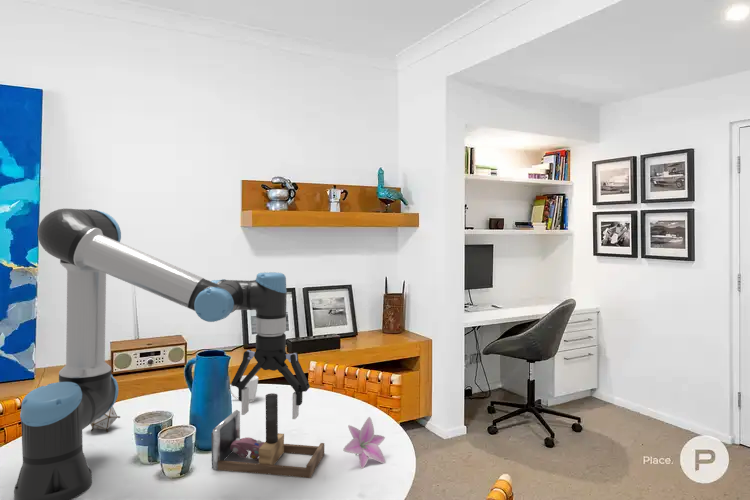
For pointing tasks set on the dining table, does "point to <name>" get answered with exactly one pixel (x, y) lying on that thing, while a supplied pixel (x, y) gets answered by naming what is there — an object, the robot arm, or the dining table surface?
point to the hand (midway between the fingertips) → (270, 415)
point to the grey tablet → (224, 437)
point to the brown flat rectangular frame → (280, 469)
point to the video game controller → (246, 447)
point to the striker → (271, 433)
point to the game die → (105, 420)
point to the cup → (250, 388)
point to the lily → (365, 443)
